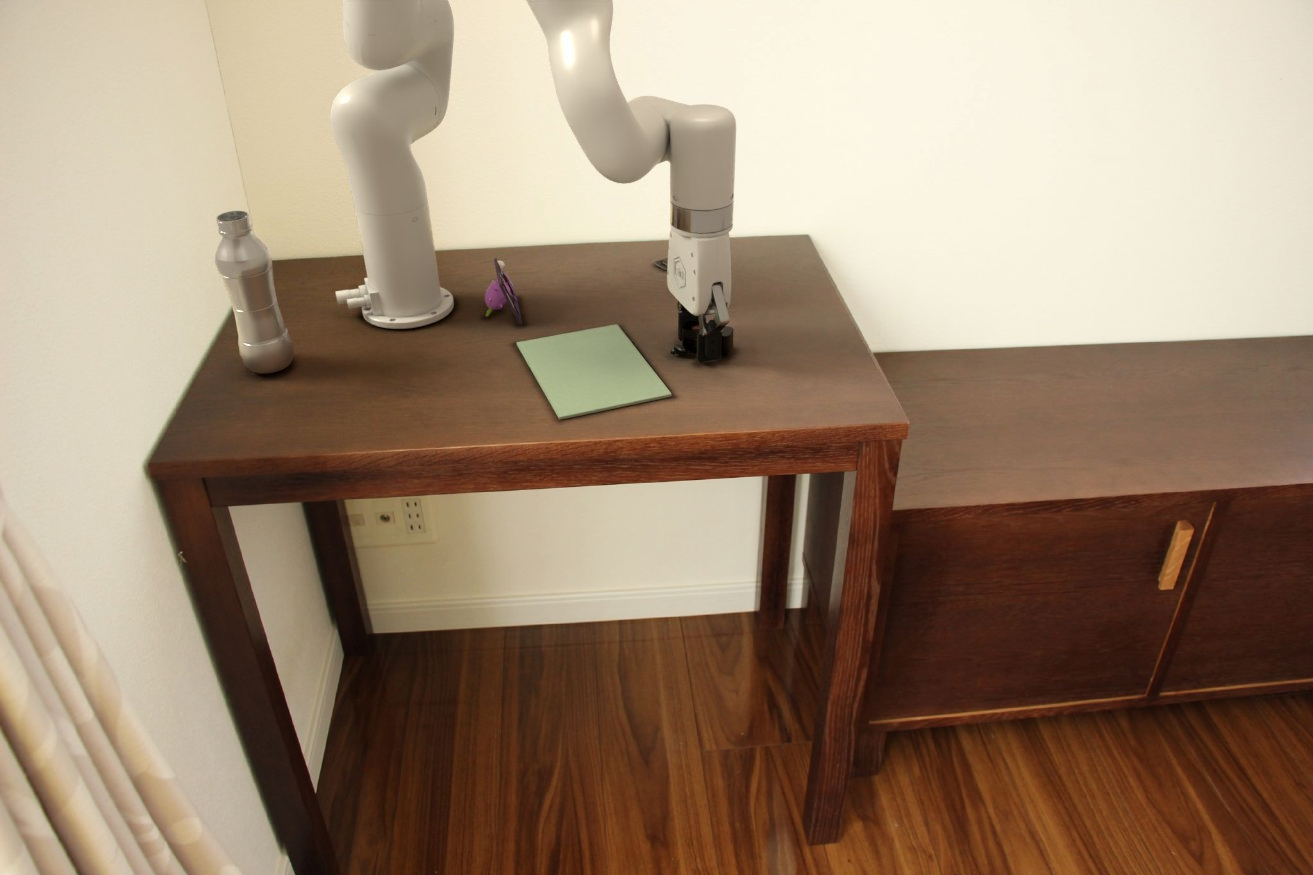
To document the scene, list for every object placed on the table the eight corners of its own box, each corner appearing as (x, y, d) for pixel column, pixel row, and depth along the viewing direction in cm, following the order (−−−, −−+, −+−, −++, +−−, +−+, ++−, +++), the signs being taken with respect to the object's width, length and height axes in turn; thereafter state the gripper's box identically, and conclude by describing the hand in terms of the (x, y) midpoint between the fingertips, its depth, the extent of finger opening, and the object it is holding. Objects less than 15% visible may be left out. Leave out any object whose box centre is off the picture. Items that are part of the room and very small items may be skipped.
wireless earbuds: (681, 341, 130) (682, 319, 128) (733, 349, 128) (734, 327, 126) (670, 357, 126) (669, 334, 125) (723, 366, 124) (724, 343, 122)
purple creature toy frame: (506, 281, 130) (501, 255, 138) (470, 296, 131) (467, 270, 138) (527, 322, 134) (521, 295, 142) (492, 337, 134) (488, 309, 142)
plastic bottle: (248, 384, 122) (206, 230, 111) (240, 361, 127) (199, 212, 116) (302, 372, 124) (266, 220, 113) (292, 350, 129) (256, 202, 118)
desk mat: (559, 420, 114) (559, 417, 114) (516, 344, 130) (516, 342, 130) (671, 396, 118) (671, 393, 118) (617, 326, 134) (617, 323, 134)
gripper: (646, 196, 123) (648, 326, 133) (701, 245, 110) (698, 385, 120) (702, 188, 125) (699, 317, 135) (762, 235, 112) (754, 374, 122)
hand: (699, 348), depth 127 cm, fingers closed on wireless earbuds, 5 cm apart
